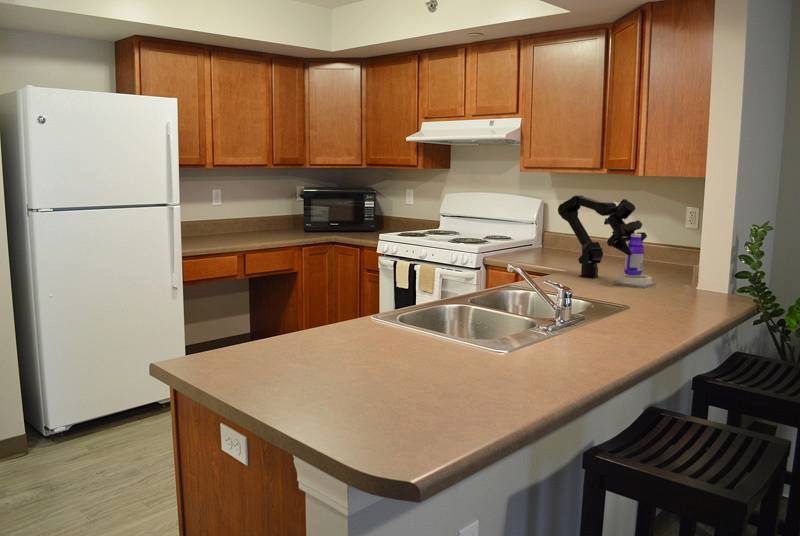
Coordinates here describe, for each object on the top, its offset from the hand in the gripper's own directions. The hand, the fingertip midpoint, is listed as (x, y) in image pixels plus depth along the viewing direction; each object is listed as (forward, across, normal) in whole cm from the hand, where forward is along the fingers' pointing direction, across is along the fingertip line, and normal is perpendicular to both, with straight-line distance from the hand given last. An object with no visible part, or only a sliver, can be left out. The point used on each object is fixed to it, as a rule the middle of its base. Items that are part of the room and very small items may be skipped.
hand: (637, 254), depth 282 cm
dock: (+8, +3, +11) cm, 14 cm away
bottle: (+5, 0, +7) cm, 9 cm away
